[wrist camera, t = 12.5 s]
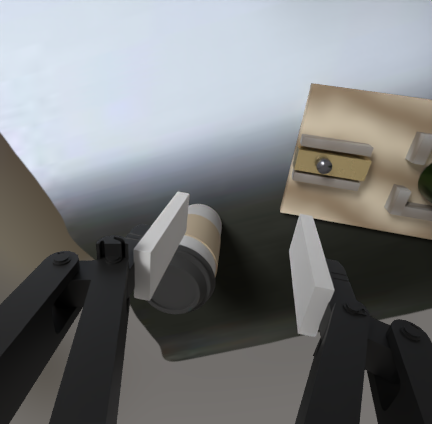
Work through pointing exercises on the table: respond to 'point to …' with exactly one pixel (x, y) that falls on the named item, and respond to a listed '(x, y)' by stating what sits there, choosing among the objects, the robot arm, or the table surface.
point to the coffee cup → (191, 264)
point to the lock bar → (331, 163)
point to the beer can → (426, 182)
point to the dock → (373, 149)
